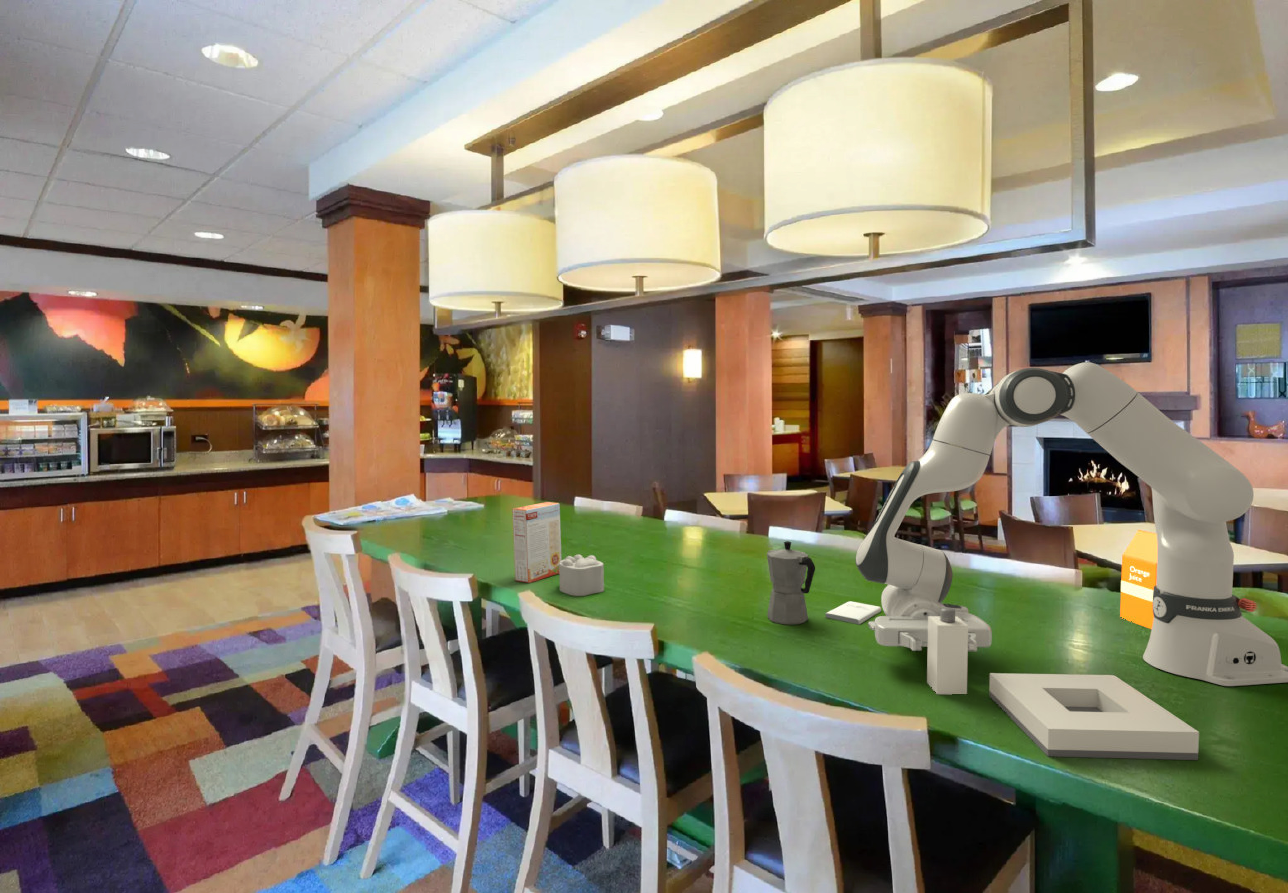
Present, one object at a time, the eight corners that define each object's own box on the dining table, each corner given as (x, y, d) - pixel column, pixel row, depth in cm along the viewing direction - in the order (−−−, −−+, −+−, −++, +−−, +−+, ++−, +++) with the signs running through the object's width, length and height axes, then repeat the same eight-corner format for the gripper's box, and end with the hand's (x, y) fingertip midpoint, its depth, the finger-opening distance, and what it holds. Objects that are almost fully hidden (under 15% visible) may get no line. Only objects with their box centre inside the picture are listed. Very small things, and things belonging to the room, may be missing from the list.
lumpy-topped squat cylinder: (575, 597, 182) (574, 564, 181) (550, 587, 192) (550, 555, 191) (609, 590, 188) (608, 558, 187) (583, 580, 198) (582, 550, 198)
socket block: (1113, 698, 117) (1114, 675, 117) (1197, 760, 98) (1199, 732, 97) (989, 696, 119) (989, 673, 119) (1047, 756, 99) (1048, 728, 99)
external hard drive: (825, 619, 162) (848, 606, 172) (859, 626, 157) (881, 613, 167) (825, 612, 162) (848, 600, 172) (859, 619, 157) (881, 606, 166)
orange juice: (1153, 630, 151) (1156, 537, 149) (1119, 617, 160) (1122, 530, 158) (1184, 627, 152) (1188, 536, 151) (1149, 615, 161) (1152, 528, 159)
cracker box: (547, 570, 210) (546, 501, 209) (562, 573, 207) (561, 502, 205) (513, 580, 199) (511, 507, 198) (528, 583, 195) (526, 509, 194)
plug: (956, 682, 125) (957, 605, 124) (966, 694, 120) (968, 614, 119) (927, 682, 125) (928, 605, 124) (936, 694, 120) (937, 613, 119)
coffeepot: (753, 614, 165) (753, 538, 164) (784, 608, 170) (785, 534, 169) (797, 633, 152) (797, 550, 151) (830, 625, 156) (830, 546, 155)
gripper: (865, 605, 137) (884, 628, 124) (974, 606, 136) (1005, 629, 122) (865, 637, 138) (884, 663, 124) (973, 638, 136) (1004, 665, 122)
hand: (945, 646), depth 123 cm, fingers open, 8 cm apart
